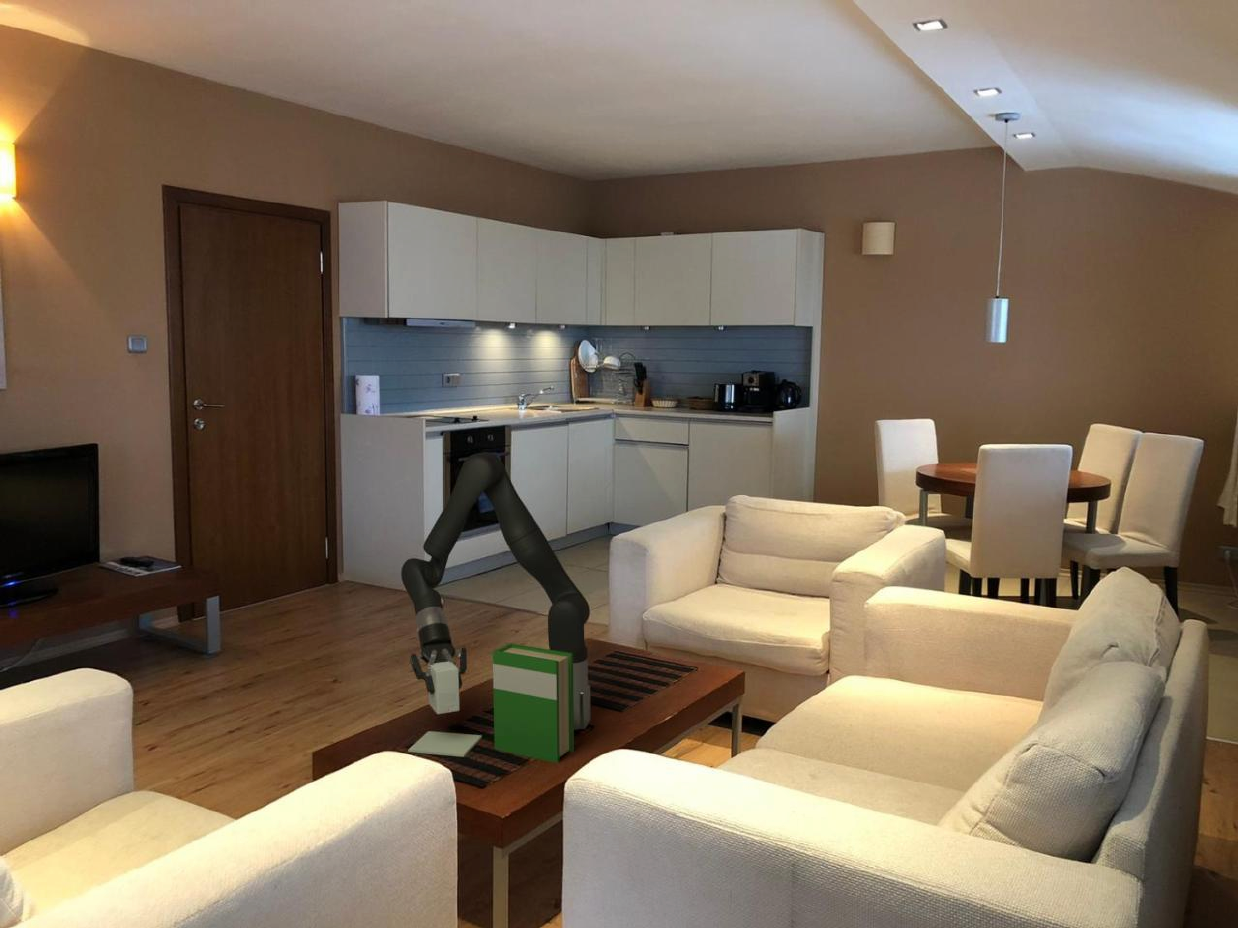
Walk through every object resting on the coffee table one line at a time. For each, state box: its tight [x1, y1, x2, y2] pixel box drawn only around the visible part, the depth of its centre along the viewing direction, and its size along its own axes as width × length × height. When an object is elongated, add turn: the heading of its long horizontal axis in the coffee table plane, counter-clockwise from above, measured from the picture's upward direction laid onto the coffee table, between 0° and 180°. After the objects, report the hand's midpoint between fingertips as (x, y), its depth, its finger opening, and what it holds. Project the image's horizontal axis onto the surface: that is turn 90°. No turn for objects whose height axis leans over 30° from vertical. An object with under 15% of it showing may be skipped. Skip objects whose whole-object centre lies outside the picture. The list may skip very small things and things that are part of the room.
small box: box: [427, 662, 460, 715], centre depth 241 cm, size 8×6×10 cm
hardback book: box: [492, 643, 575, 764], centre depth 238 cm, size 18×7×24 cm, turn 62°
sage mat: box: [407, 730, 483, 758], centre depth 243 cm, size 14×12×1 cm
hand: (445, 690), depth 240 cm, fingers closed on small box, 5 cm apart
